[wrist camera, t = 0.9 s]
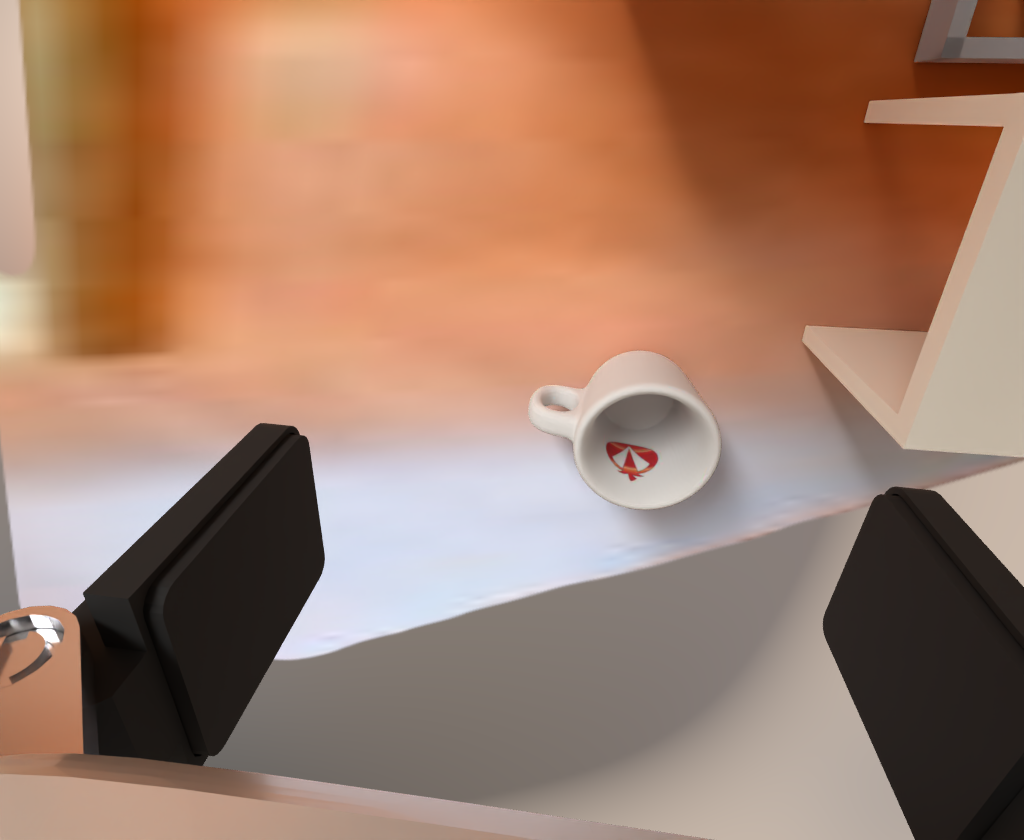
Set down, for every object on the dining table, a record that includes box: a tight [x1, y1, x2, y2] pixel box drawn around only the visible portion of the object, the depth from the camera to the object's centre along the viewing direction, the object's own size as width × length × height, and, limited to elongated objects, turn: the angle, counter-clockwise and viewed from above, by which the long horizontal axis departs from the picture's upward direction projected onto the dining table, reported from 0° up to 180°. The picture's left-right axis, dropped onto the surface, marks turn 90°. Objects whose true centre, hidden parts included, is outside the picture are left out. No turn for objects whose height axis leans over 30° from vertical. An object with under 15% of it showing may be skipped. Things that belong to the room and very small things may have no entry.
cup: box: [528, 351, 721, 510], centre depth 35 cm, size 11×8×8 cm
